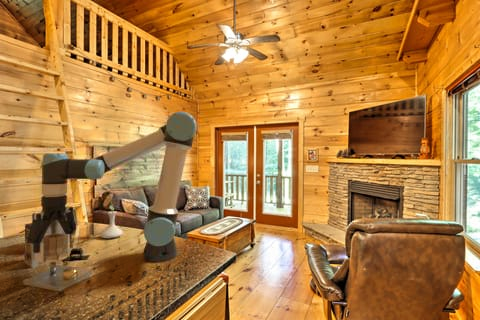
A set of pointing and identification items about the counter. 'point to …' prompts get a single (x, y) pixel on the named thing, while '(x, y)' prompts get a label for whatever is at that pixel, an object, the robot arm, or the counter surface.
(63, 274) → the carrier
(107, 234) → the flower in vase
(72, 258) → the black piece
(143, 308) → the counter surface
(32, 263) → the coffee box
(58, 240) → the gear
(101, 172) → the robot arm
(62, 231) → the tabletop clock
